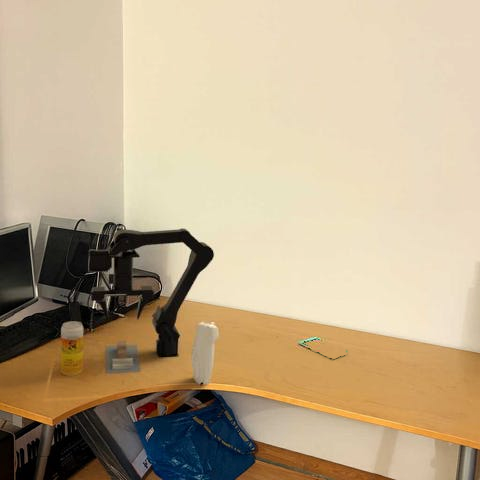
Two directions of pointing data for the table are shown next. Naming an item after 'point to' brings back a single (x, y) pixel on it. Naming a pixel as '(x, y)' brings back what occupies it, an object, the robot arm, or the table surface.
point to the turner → (122, 357)
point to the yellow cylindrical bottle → (71, 348)
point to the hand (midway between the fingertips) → (122, 319)
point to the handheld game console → (310, 340)
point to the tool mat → (113, 354)
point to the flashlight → (204, 351)
